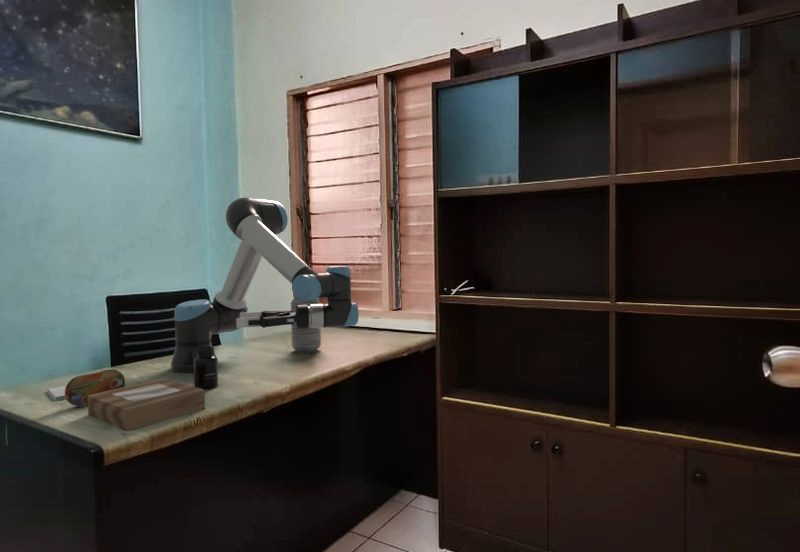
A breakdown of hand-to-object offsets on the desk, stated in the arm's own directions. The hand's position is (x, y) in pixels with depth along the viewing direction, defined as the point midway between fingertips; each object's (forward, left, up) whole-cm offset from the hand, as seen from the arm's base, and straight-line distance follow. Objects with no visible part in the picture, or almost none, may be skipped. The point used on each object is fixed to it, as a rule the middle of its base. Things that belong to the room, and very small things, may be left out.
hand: (238, 319), depth 154 cm
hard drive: (-34, -34, -21) cm, 53 cm away
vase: (-20, +47, -20) cm, 55 cm away
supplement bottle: (-6, -7, -20) cm, 23 cm away
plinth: (+2, -29, -20) cm, 36 cm away
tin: (-18, -33, -20) cm, 43 cm away
